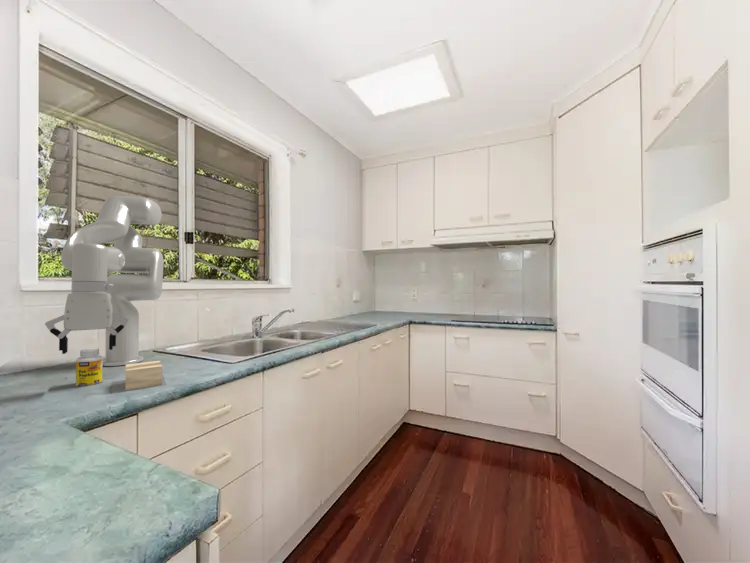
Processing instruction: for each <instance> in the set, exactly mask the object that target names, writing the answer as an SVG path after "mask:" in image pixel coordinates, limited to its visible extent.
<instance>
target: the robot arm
mask: <svg viewBox="0 0 750 563" xmlns="http://www.w3.org/2000/svg"><path fill="white" fill-rule="evenodd" d="M162 214H163V213H162V209H161V207H160V205H159V204H158V202H156V201H154V200H153V199H150V198H147V197H140V196H132V195H118V194H117V195H116V194H115V195H110V196H108V197H106V198H105V200H104V202H103V203H102V206H101V209H100V211H99V213H98V215H97V218H96V219H95V220H96V221H93V222H91V223H89V224H87V225H85V226H83V227H80V228H78V229H77V230H75V231H74V232H72V233H71V234H70V235H69V236H68V238H67V240H66V241H65V244H64V246H63V249H62V251H61V256H60V257H61V258H60V261H61V264H62V266H63V267H64V268H65V269H66V270H68V271H71V290H70V292H71V293H67V297H66V301H65V306H64V314H63V315H60V316H58V317H55V318H53V319H50V320H47V321H45V326H46V328H47V330H49V332H50V334H52V335H53V336H55V337H57V339H59V340H58V342H59V344H58V351H61V353H62V355H63V354H64V355H65V354H67V353H68V351H69V350H68V347H69V344H68V343H69V342H68V340H69V338H68V337H67V335H68V334H70V332H71V331H72V332H73V331H75V332H76V331H91V330H93V331H94V330H105V355H104V356H105V358H103V367H117V366H126V364H135V363H142V362H143V361H144V356H143V355H139V348H140V347H139V344H140V343H139V336H140V334H139V333H140V332H139V331H140V330H139V329H140V327H139V326H140V325H139V324H140V322H139V320H140V316H139V315H140V313H139V310H138V309H137V307H136V306H135V305H134V304H133V303H132V302H133V301H136V302H138V301H156V300H158V299H159V298H160V297H161V295H162V290H163V279H164V277H163V276H164V256H163V253H162V251H161V250H159V249H157V248H152V247H151V248H150V247H149V248H148V247H147V248H145V247H143V242H144V241H143V237H142V235H141V234H140V232H138V231H137V229H136V228H135V227H133V226H132V225H131V224H133V225H134V224H135V225H149V226H157V225H158V224H160V223H161V220H162V217H163V215H162ZM109 242H114V244H113V246H106V245H104V244H106V243H109ZM114 272H117V273H118V274H117V273H116V274H111V275H109V276H108V274H109V273H114ZM121 273H122V274H121ZM62 321H63V330H62V331H61V330H59V329H58V328H56V326H55V325H56V324H58V323H60V322H62Z"/></svg>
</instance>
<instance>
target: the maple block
mask: <svg viewBox="0 0 750 563" xmlns="http://www.w3.org/2000/svg"><path fill="white" fill-rule="evenodd" d="M162 375H163V365H162V363H161V360H156V361H155V360H153V361H145V362H138V363H133V364H126V365H125V380H126V390H129V389H136V388H142V387H149V386H156V385H162Z"/></svg>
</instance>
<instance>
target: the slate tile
mask: <svg viewBox="0 0 750 563" xmlns="http://www.w3.org/2000/svg"><path fill="white" fill-rule="evenodd" d="M162 386H167V382H166V379H165V376H164V375H163V374H162V385H156V386H149V387H142V388H136V389H129V390H126V379H124V380H117V381H112V383H111V387H110V394H115V393H117V394H118V393H124V392H129V391H135V390H143V389H149V388H156V387H162Z"/></svg>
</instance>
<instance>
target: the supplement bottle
mask: <svg viewBox="0 0 750 563" xmlns="http://www.w3.org/2000/svg"><path fill="white" fill-rule="evenodd" d="M79 352H80V353H79V357H77V358H76V361H75V386H76V387H91V386H95V385H99V384H102V383H103V369H104V368H103V367H104V366H103V360H104V358H103V356H102V355H100V349H99V348H87V349H81V350H80V351H79Z"/></svg>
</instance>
